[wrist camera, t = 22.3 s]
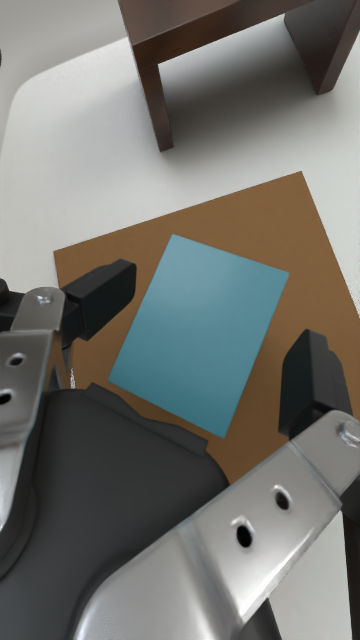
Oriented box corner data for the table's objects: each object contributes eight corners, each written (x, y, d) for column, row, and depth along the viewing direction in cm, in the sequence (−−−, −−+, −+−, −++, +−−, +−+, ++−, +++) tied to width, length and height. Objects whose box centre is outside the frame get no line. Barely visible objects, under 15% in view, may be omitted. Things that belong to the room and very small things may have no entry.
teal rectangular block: (158, 366, 16) (105, 380, 8) (191, 289, 16) (171, 232, 9) (218, 394, 15) (224, 440, 7) (251, 312, 16) (290, 272, 8)
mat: (56, 253, 19) (53, 251, 19) (299, 174, 17) (301, 170, 16) (100, 517, 16) (97, 522, 15) (411, 459, 13) (417, 463, 13)
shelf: (160, 152, 19) (131, 45, 12) (138, 78, 20) (103, -54, 14) (333, 89, 17) (405, -69, 11) (297, 14, 19) (343, -168, 12)
